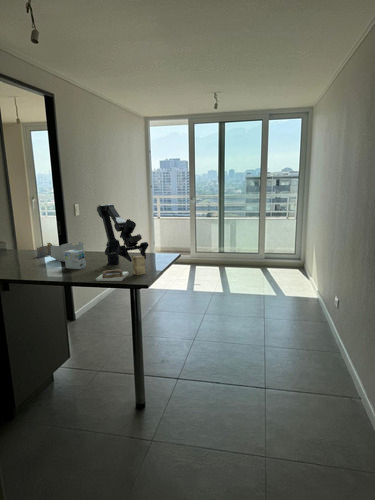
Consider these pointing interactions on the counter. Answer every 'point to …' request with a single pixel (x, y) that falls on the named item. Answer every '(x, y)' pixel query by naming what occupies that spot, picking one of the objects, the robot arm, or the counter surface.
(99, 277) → the base board
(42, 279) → the counter surface
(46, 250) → the ruin model on sheet
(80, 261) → the light bulb box
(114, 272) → the socket frame
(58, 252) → the grey angular block
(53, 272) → the counter surface
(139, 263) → the maple pillar
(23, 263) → the counter surface
